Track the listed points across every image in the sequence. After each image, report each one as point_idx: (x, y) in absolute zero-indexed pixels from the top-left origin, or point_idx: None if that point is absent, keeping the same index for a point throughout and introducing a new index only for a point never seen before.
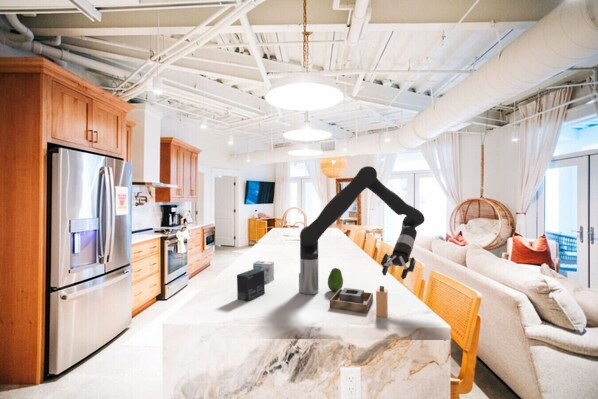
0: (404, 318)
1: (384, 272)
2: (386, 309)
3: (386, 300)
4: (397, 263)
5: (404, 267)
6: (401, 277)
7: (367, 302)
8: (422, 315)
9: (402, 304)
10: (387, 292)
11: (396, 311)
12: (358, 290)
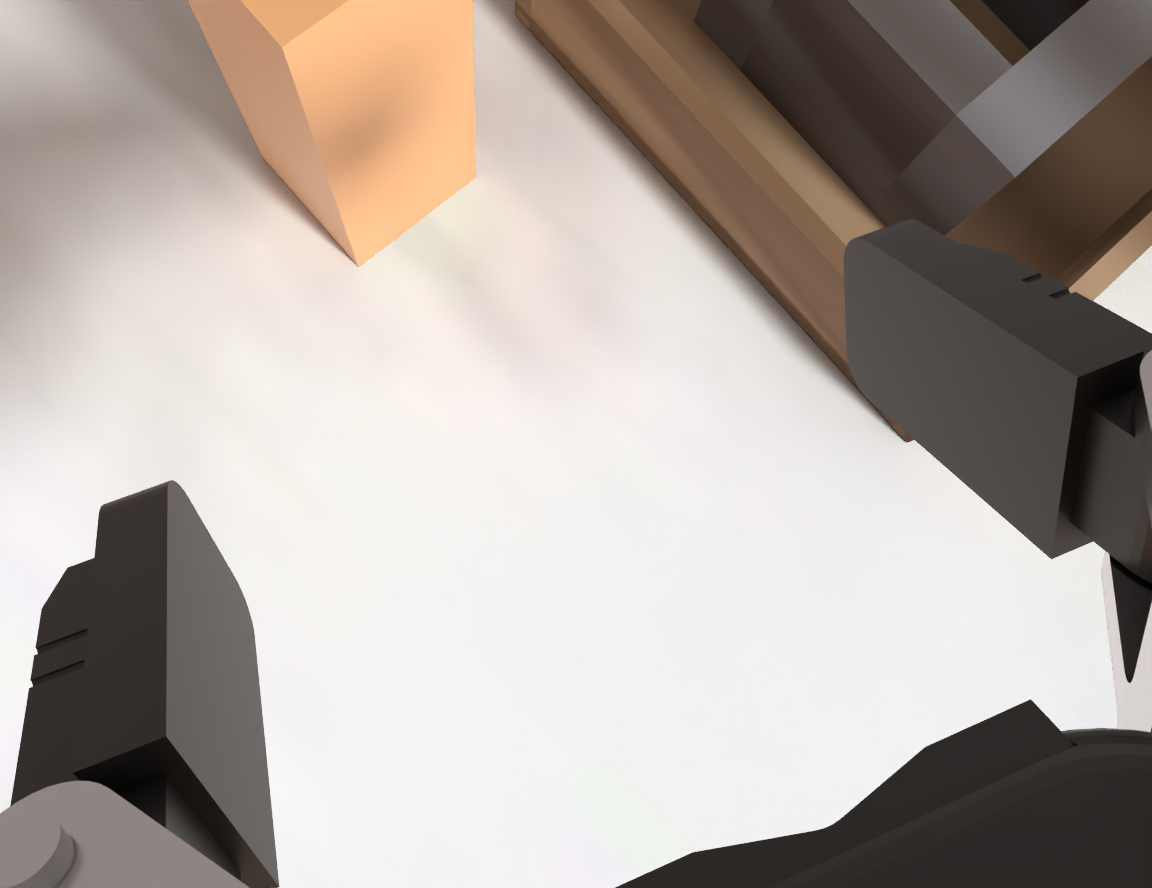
0: (86, 358)
1: (876, 275)
2: (237, 99)
3: (197, 10)
4: (766, 848)
5: (129, 853)
6: (188, 511)
7: (607, 9)
8: (5, 717)
9: (545, 789)
10: (293, 84)
11: (356, 454)
12: (1029, 69)
